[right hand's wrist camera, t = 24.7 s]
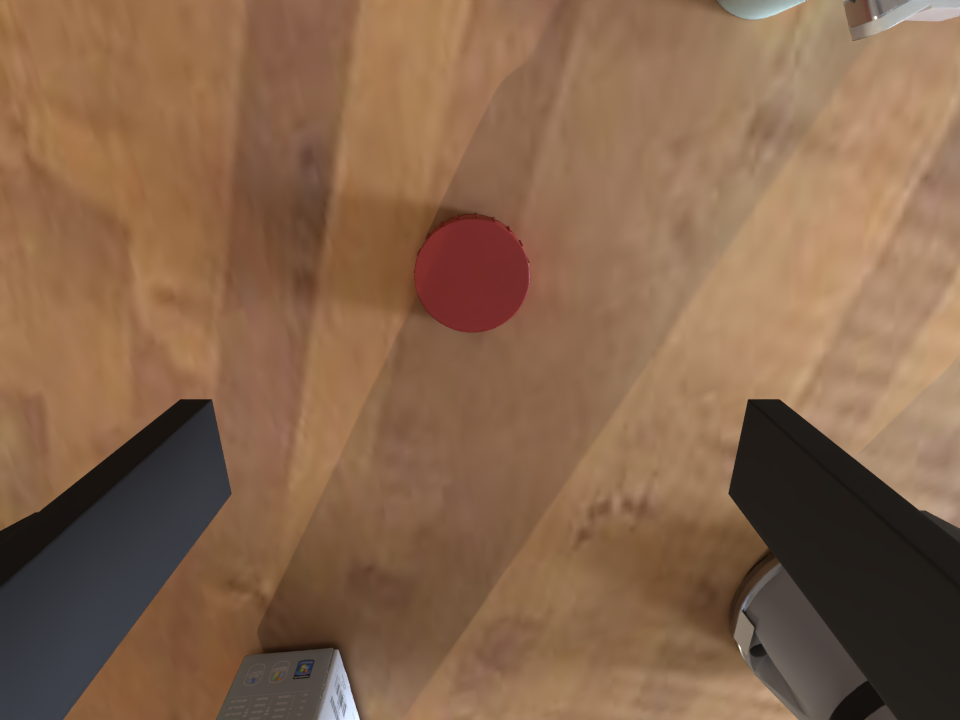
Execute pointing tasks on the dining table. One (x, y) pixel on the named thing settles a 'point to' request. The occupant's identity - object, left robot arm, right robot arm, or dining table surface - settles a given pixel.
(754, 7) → the jar
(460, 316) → the lid
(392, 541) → the dining table surface
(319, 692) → the hard drive box
